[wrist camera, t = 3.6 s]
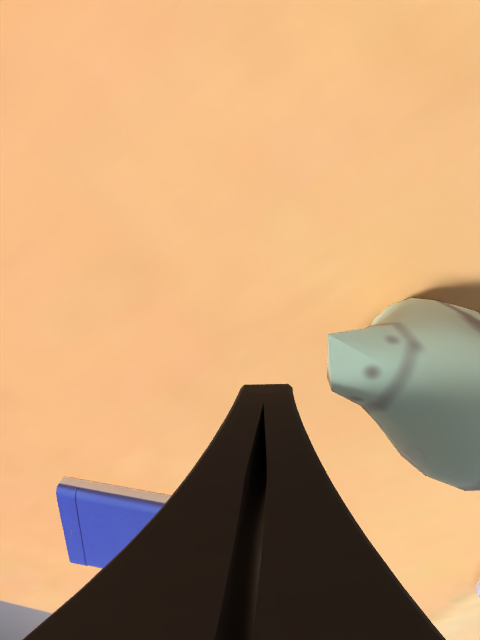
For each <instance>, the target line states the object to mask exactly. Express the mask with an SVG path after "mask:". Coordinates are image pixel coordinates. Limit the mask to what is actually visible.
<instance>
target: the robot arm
mask: <svg viewBox="0 0 480 640" xmlns="http://www.w3.org/2000/svg"><path fill="white" fill-rule="evenodd" d="M260 558H261V560H260ZM476 592H477V594H478V596H479V597H480V578H479V581H478V583H477V585H476ZM23 640H446V639H445V638H444V637H443V636H442V634H441V633H440V632H439V631H438V630H437V629H436V627H435V626H434V625H433V624H432V623H431V621H430V620H429V619H428V617H427V616H426V615H425V614H424V612H423V611H422V610H421V609H420V607H419V606H418V605H417V604H416V602H415V601H414V600H413V599H412V597H411V596H410V595H409V594H408V592H407V591H406V590H405V589H404V587H403V586H402V585H401V583H400V582H399V581H398V579H397V578H396V577H395V575H394V574H393V572H392V571H391V570H390V568H389V567H388V566H387V564H386V563H385V562H384V560H383V559H382V558H381V556H380V555H379V553H378V552H377V551H376V549H375V548H374V547H373V545H372V544H371V543H370V541H369V540H368V538H367V537H366V536H365V534H364V533H363V531H362V530H361V528H360V527H359V525H358V524H357V522H356V521H355V519H354V518H353V516H352V515H351V513H350V511H349V510H348V508H347V507H346V505H345V503H344V502H343V500H342V499H341V497H340V496H339V494H338V492H337V490H336V489H335V487H334V485H333V484H332V482H331V480H330V478H329V477H328V475H327V473H326V471H325V469H324V467H323V466H322V464H321V462H320V460H319V458H318V456H317V454H316V452H315V450H314V448H313V446H312V444H311V441H310V439H309V437H308V435H307V433H306V430H305V428H304V426H303V423H302V421H301V418H300V415H299V413H298V410H297V407H296V404H295V400H294V396H293V390H292V387H291V386H290V385H289V384H265V385H244V386H243V387H242V388H241V389H240V391H239V394H238V396H237V398H236V400H235V402H234V404H233V406H232V408H231V410H230V411H229V413H228V415H227V417H226V419H225V420H224V422H223V424H222V425H221V427H220V428H219V430H218V432H217V433H216V435H215V437H214V438H213V440H212V441H211V443H210V445H209V446H208V448H207V449H206V450H205V452H204V453H203V455H202V456H201V458H200V459H199V460H198V462H197V463H196V465H195V466H194V468H193V469H192V470H191V472H190V473H189V474H188V476H187V477H186V478H185V480H184V481H183V482H182V483H181V485H180V486H179V487H178V489H177V490H176V491H175V492H174V493H173V495H172V496H171V497H170V498H169V499H168V501H167V502H166V503H165V504H164V505H163V507H162V508H161V509H160V510H159V511H158V512H157V513H156V514H155V515H154V517H153V518H152V519H151V520H150V521H149V522H148V523H147V524H146V526H145V527H144V528H143V529H142V530H141V531H140V532H139V533H138V534H137V535H136V536H135V537H134V538H133V539H132V540H131V541H130V542H129V543H128V545H127V546H126V547H125V548H123V549H122V550H121V551H120V552H119V553H118V554H117V555H116V556H115V557H114V558H113V559H112V560H111V561H110V562H109V563H108V564H107V565H106V566H105V567H104V568H103V569H102V570H101V571H100V572H99V573H98V574H97V575H96V576H94V577H93V578H92V579H91V580H90V581H89V582H88V583H87V584H86V585H85V586H84V587H83V588H82V589H81V590H79V591H78V592H77V593H76V594H75V595H74V596H73V597H72V598H70V599H69V600H68V601H67V602H66V603H65V604H63V605H62V606H61V607H60V608H59V609H58V610H56V611H55V612H54V613H53V614H52V615H51V616H50V617H48V618H47V619H46V620H45V621H44V622H43V623H41V624H40V625H39V626H38V627H37V628H36V629H34V630H33V631H32V632H31V633H30V634H29V635H27V636H26V637H25V638H24V639H23Z"/></svg>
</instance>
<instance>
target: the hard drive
mask: <svg viewBox="0 0 480 640" xmlns="http://www.w3.org/2000/svg"><path fill="white" fill-rule="evenodd" d="M56 495H57V501H58V507H59V511H60V516H61V521H62V526H63V530H64V535H65V540H66V545H67V550H68V555H69V559H70V562H72V563H76V564H81V565H86V566H88V565H89V566H94V567H98V568H104V567H105V566H106V565H107V564H108V563H109V562H110V561H111V560H112V559H113V558H114V557H115V556H116V555H117V554H118V553H119V552H120V551H121V550H122V549H123V548H125V547H126V546H127V545H128V543H129V542H130V541H131V540H132V539H133V538H134V537H135V536H136V535H137V534H138V533H139V532H140V531H141V530H142V529H143V528H144V527H145V526H146V524H147V523H148V522H149V521H150V520H151V519H152V518H153V517H154V515H155V514H156V513H157V512H158V511H159V510H160V509H161V508H162V507H163V505H164V504H165V503H166V502H167V501H168V499H169V498H170V497H171V495H165V494H160V493H154V492H149V491H143V490H137V489H132V488H126V487H121V486H115V485H110V484H104V483H98V482H93V481H87V480H82V479H76V478H71V477H65V476H63V478H62V480H61V481H60V483H59V484H58V486H57V491H56ZM260 560H261V558H260Z"/></svg>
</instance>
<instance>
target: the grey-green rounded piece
mask: <svg viewBox="0 0 480 640" xmlns="http://www.w3.org/2000/svg"><path fill="white" fill-rule="evenodd" d="M327 378H328V381H329V384H330V387H331V390H332V391H333V392H335V393H337V394H339V395H341V396H343V397H345V398H347V399H349V400H351V401H353V402H354V403H356V404H358V405H360V406H361V407H362V408H363V409H364V410H365V411H366V412H367V413H368V414H369V415H370V416H371V417H372V418H373V419H374V420H375V421H376V423H377V424H378V425H379V427H380V428H381V429H382V431H383V432H384V433H385V435H386V436H387V437H388V438H389V440H390V441H391V442H392V444H393V445H394V446H395V448H396V449H397V450H398V452H399V453H400V454H401V456H402V457H404V458H405V459H406V460H407V461H408V462H410V463H411V464H412V465H413V466H414V467H416V468H417V469H418V470H419V471H420V472H422V473H423V474H424V475H425V476H428V477H431V478H433V479H436V480H438V481H441V482H444V483H446V484H449V485H451V486H454V487H457V488H459V489H462V490H464V491H474V490H480V313H478V312H476V311H474V310H471V309H467V308H463V307H460V306H456V305H453V304H449V303H445V302H442V301H438V300H428V299H418V298H409V299H406V300H403V301H401V302H398V303H395V304H393V305H390V306H389V307H387V308H386V309H385V310H384V311H383V312H381V313H380V314H379V315H378V316H377V317H376V318H375V319H374V321H373V323H372V325H371V326H369V327H367V328H365V329H359V330H352V331H346V332H339V333H332V334H328V359H327Z"/></svg>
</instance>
